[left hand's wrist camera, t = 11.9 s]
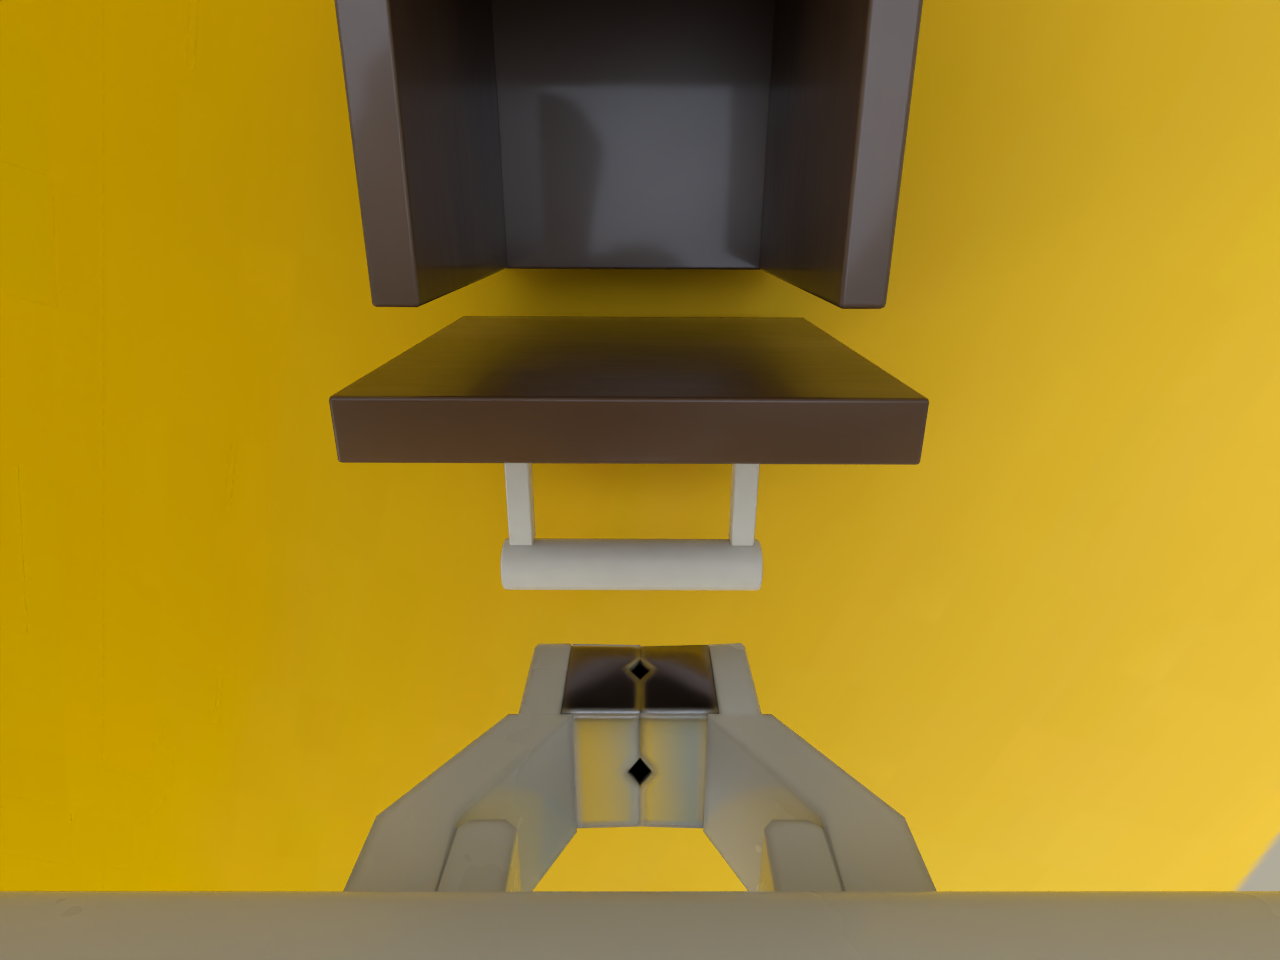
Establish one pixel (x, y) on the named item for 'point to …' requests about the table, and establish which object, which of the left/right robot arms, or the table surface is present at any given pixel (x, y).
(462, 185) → the drawer
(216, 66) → the table surface
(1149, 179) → the table surface
